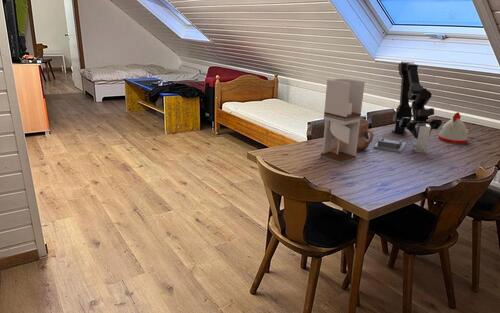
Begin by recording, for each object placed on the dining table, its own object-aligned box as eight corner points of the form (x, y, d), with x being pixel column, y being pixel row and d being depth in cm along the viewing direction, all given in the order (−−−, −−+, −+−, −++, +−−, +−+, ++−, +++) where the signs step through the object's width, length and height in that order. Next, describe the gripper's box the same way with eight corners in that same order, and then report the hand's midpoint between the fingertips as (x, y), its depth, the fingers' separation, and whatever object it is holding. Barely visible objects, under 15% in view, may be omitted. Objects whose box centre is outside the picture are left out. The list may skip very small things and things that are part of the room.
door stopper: (368, 139, 210) (371, 117, 206) (362, 141, 206) (364, 118, 202) (354, 135, 216) (357, 114, 212) (347, 137, 213) (350, 115, 209)
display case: (320, 157, 180) (327, 79, 168) (335, 153, 186) (342, 78, 175) (340, 164, 172) (349, 83, 160) (355, 159, 178) (364, 81, 167)
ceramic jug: (329, 147, 195) (332, 119, 190) (345, 141, 205) (348, 114, 200) (362, 157, 183) (366, 127, 178) (377, 150, 193) (382, 122, 188)
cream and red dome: (433, 139, 215) (438, 111, 210) (444, 134, 223) (449, 108, 218) (460, 145, 205) (466, 116, 200) (470, 140, 214) (476, 113, 209)
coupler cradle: (380, 140, 209) (381, 133, 208) (406, 144, 203) (407, 137, 202) (373, 148, 196) (374, 141, 194) (401, 152, 190) (402, 145, 189)
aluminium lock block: (412, 148, 196) (417, 121, 192) (422, 149, 196) (427, 122, 191) (415, 151, 191) (420, 124, 187) (426, 152, 191) (431, 124, 187)
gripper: (404, 101, 190) (407, 129, 183) (444, 102, 189) (449, 131, 182) (397, 113, 200) (400, 140, 193) (435, 115, 199) (439, 142, 192)
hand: (422, 138), depth 190 cm, fingers closed on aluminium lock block, 5 cm apart
